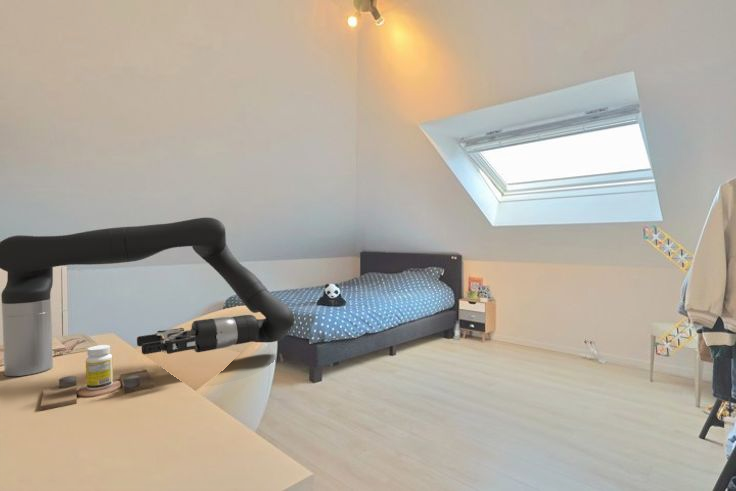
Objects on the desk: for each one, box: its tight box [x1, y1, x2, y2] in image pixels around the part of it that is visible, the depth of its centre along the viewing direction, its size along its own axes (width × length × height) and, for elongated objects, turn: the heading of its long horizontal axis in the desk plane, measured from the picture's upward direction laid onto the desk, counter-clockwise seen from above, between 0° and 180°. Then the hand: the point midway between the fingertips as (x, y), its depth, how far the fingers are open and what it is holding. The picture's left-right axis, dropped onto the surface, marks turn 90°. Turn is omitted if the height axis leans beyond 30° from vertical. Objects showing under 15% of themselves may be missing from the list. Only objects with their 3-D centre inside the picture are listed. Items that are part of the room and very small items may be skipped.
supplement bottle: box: [85, 344, 114, 390], centre depth 87 cm, size 5×5×8 cm
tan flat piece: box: [39, 369, 155, 411], centre depth 87 cm, size 12×19×2 cm, turn 125°
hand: (139, 345), depth 91 cm, fingers open, 8 cm apart
